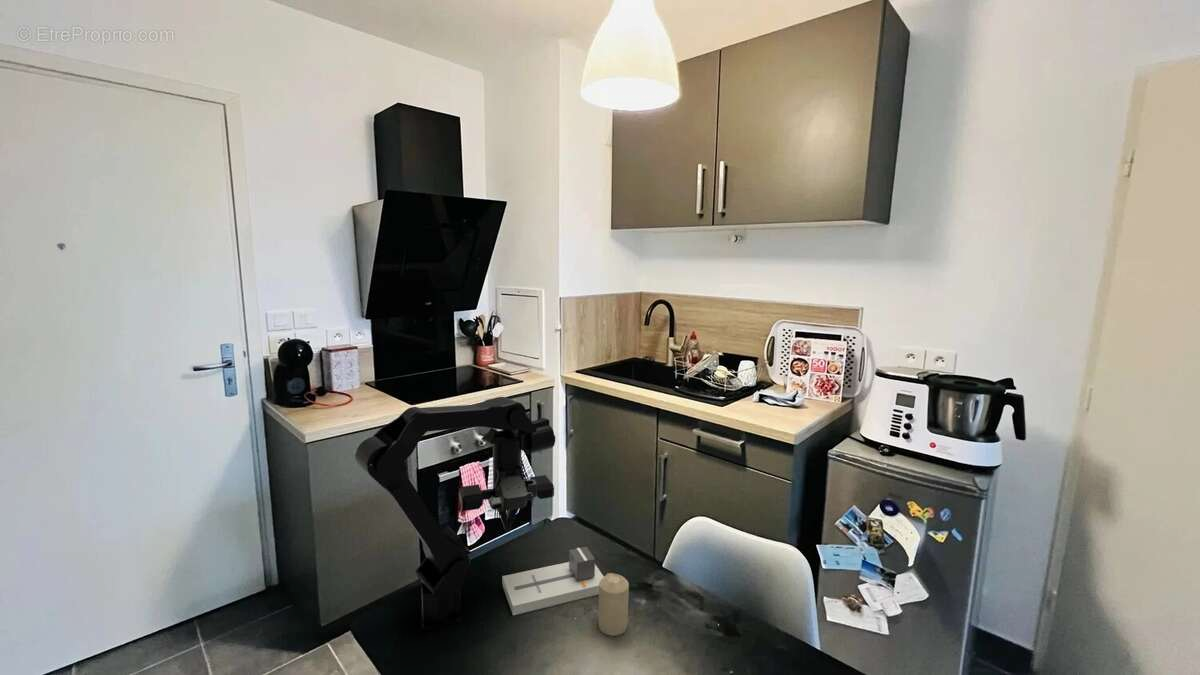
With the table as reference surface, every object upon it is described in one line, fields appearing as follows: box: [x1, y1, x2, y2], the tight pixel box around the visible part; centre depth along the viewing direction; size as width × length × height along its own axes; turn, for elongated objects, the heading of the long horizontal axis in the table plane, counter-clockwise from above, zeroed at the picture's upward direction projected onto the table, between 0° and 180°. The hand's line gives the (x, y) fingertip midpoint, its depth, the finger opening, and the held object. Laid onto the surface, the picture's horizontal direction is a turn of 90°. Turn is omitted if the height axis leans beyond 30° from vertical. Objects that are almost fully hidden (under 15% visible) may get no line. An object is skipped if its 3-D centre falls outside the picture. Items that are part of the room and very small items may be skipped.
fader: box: [568, 546, 596, 581], centre depth 105 cm, size 4×5×4 cm
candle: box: [597, 572, 630, 637], centre depth 92 cm, size 6×6×10 cm
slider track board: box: [501, 561, 605, 616], centre depth 103 cm, size 20×10×2 cm, turn 113°
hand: (507, 530), depth 103 cm, fingers closed
